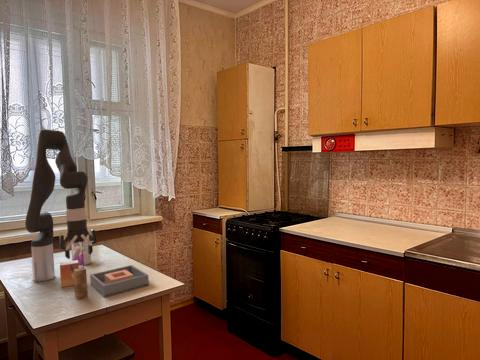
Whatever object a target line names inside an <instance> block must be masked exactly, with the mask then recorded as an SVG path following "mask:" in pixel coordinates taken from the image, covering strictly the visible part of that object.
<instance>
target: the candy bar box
mask: <svg viewBox="0 0 480 360" xmlns="http://www.w3.org/2000/svg"><path fill="white" fill-rule="evenodd" d="M86 238H87V239H88V240H89V241H90V242H91V240H90V234H88V235H87V237H86ZM71 243H72V242H71ZM70 248H71V255H72V256H71V258H72V260H71V261H75V260H78V263H79V266H80V265H81V266H87V265H90V264H92V260H91V259H92V258H91V255H92V253H91V254H90V255H89V254H88V244H87V243H86V242H85V241H83V242H78V243H73V244H72V245H71V246H70Z"/></svg>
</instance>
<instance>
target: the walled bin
mask: <svg viewBox="0 0 480 360" xmlns="http://www.w3.org/2000/svg"><path fill="white" fill-rule="evenodd" d="M89 277H90V279H89V281H90V285H91V287H92V288H93V289H95V290H96V291H97V292H98V293H99V294H100V295H101V296H102V297H103V298H108V297H111V296H115V295H118V294H123V293H126V292H130V291H133V290H137V289H140V288H144V287H148V286H150V285H149V284H150V282H149V281H150V280H149V274H147V273H146V272H145V271H142V270H140V269H139V268H137V267H136V266H134V265H132V264H130V265H126V266H125V265H124V266H121V267H118V268H113V269H107V270H104V271H99V272H96V273H90V274H89Z"/></svg>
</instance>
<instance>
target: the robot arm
mask: <svg viewBox="0 0 480 360" xmlns="http://www.w3.org/2000/svg"><path fill="white" fill-rule="evenodd" d="M36 142H37V143H36V158H35V166H34V173H33V176H32V186H31V192H30V193H31V194H30V200H29V205H28V209H27V212H26V217H25V228H26V231H27V232H28V233H30V234H34V233H38V234H37V236H35V237H34V238H33V239H32V240H31V241H30V247H31V248H30V250H31V258H32V259H31V270H32V279H33V281H34V282H35V283H38V282H46V281H50V280H52V279H55V277H56V274H55V271H56V270H55V261H54V246H53V245H54V244H53V243H54V242H53V240H54V218H53V216H52V214H51V213H50V212H48V211H42V208H43V206H44V204H45V203H46V202H47V200H49V197H50V196H51V195H52V193H54V190H55V185H56V184H55V183H56V174H55V171H54V170H53V168H52V166H51V165H50V162H49V161H48V157H47V150H50V151H51V150H52V151H58V153H57V155H56V157H55V160H54V161H55V162H54V163H55V165H56V167H57V170H58V172H59V184H60V186H61V188H63V189H65V190H66V189H67V190H69V189H71V190H72V189H77V190H76V191H75V192H73V193H71V194H68V195H66V197H65V205H66V207H65V208H66V226H67V233H65V234H59V235H58V236H59V237H58V239H59V242H58V243H59V245H58V247H59V249H60V250H64V257H65V258H66V259H68V260H70V259H71V254H70V251H71V250H70V249H71V245H72V244H73V243H78V242H83V241H85V242H86V243H87V244H88V254H89V255H90V254H91V255H92V253H93V252H94V251H93V250H94V249H93V246H94V245H95V244H97V240H98V239H97V234H96V230H95V229H92V228H91V230H88V224H87V223H88V222H87V212H86V204H85V201H86V200H85V196H86V190H87V184H88V180H89V178H88V176H87V173H86V172H84V171H81V170H79V171H78V166H77V164H76V162H75V161H74V159H73V157H72V154H71V152H70V149H69V148H70V147H69V143H68V139H67V137H66V134H65V133H64V132H63V131H62V130H61V131H60V130H54V129H45V128H42V129H40V130H39V132H38V134H37V141H36ZM87 235H89V236H91V240H90V239H89V240H90V241H89V240H88V239H87V238H86V237H87ZM66 238H67V239H68V241H66V244H65V240H66ZM71 242H72V243H71Z"/></svg>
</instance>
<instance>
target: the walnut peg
mask: <svg viewBox="0 0 480 360" xmlns="http://www.w3.org/2000/svg"><path fill="white" fill-rule="evenodd" d="M87 275H88V274H87V269H86V268H85V267H84V266H82V267H79V268H78V269H74V282H75V285H74V294H75V299H77V300H81V299H85V298H88V297H89V293H88V280H87V279H88V278H87V277H88V276H87Z"/></svg>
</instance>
